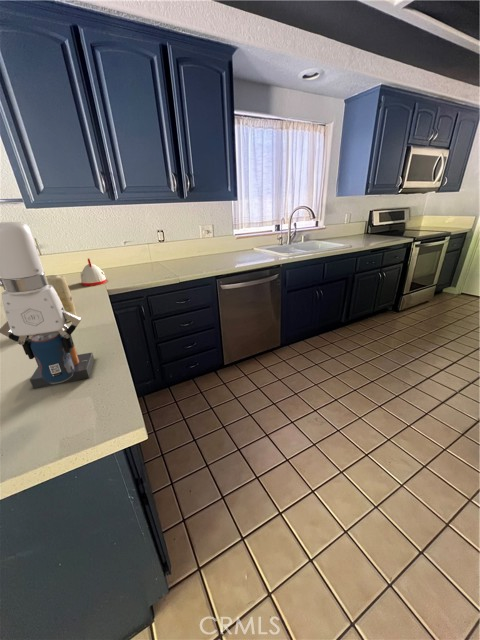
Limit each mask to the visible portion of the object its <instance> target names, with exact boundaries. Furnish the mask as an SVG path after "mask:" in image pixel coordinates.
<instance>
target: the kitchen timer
mask: <svg viewBox="0 0 480 640" xmlns="http://www.w3.org/2000/svg"><path fill="white" fill-rule="evenodd" d="M80 280H81V285H82V286H85V287H91V286H93V287H95V286H100V285H102V284H105V283H107V278H106V275H105V272H104V270H103V269H101V268H100V267H99V266H97V265H96V264H93V263H91V259H90V258H87V264H86V265H85V266H84V267H83V268H82V271H81V272H80Z"/></svg>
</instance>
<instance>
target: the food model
mask: <svg viewBox="0 0 480 640" xmlns="http://www.w3.org/2000/svg"><path fill="white" fill-rule="evenodd" d="M46 278H47V281H48V284H49V285H52V286H53V288H54V289H55V291H56V293H57V295H58V296H59V298H60V300H61V303H62V305H63V307H64V310H65V311H67V312H69V313H71V314H73V315H75V316H78V314H77V313H76V308H75V304H74V301H73V298H72V294H71V290H70V288H69V285H68V283H67V280H66V277H65V276H64V275H59V274H58V275H55V274H50V275H46ZM69 322H71V321H70V320H67V322H66V323H65V324H67V323H69Z"/></svg>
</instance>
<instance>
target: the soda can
mask: <svg viewBox="0 0 480 640" xmlns="http://www.w3.org/2000/svg"><path fill="white" fill-rule="evenodd" d="M30 339H31V345H30V347H31V350H32V352H33V355H34V360H35V362H36V365H37V367H39V370H40V372H41V375H42V377H43V379H44V380H45V381H47V382H49V383H52V384H55V385H57V384H56V383H60V384H62V383H61V382H64V381H66V380H68V379H69V378H71V377H72V375H73V373H74V370H75V367H74V364H73V361H72V358H71V355H70V353H66V350H65V347H64V345H63V342H62V339H63V336H62V335H61V334H60V333H59V332H57V331H55V332H49V333H42V334H35V335H31V338H30Z"/></svg>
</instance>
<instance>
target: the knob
mask: <svg viewBox="0 0 480 640" xmlns="http://www.w3.org/2000/svg"><path fill="white" fill-rule="evenodd" d="M70 355H71V358H72V361H73V364H74V366H75V365H77V364H78V363H79V359H78V355H79V354H78V353H77V350H76V347H75V345H74V347H73V348H72V350H71V352H70Z"/></svg>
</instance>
